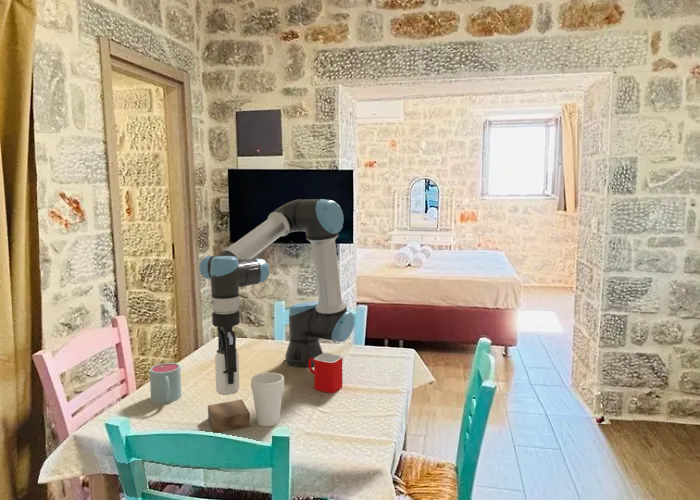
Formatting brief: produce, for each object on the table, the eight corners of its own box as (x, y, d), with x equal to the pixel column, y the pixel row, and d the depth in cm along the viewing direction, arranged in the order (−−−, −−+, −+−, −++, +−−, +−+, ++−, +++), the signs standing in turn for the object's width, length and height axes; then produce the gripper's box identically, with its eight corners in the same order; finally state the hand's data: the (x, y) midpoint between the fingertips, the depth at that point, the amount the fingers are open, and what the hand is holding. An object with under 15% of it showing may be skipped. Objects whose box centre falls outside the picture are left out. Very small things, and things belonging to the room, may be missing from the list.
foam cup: (254, 414, 148) (253, 372, 146) (285, 413, 148) (284, 371, 147) (250, 429, 138) (249, 385, 137) (283, 428, 139) (283, 384, 137)
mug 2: (344, 385, 170) (344, 355, 169) (332, 394, 162) (332, 363, 161) (315, 379, 175) (315, 350, 174) (302, 387, 168) (302, 357, 167)
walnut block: (242, 412, 149) (241, 399, 149) (249, 426, 140) (249, 412, 140) (208, 418, 145) (207, 405, 144) (214, 433, 136) (213, 419, 135)
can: (233, 396, 138) (232, 354, 136) (212, 394, 139) (210, 353, 138) (243, 387, 144) (242, 347, 143) (222, 385, 145) (221, 346, 144)
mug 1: (150, 394, 162) (149, 365, 161) (180, 390, 166) (179, 361, 165) (151, 411, 150) (150, 379, 149) (183, 406, 153) (182, 375, 152)
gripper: (206, 305, 146) (209, 379, 149) (218, 320, 128) (221, 404, 131) (232, 302, 149) (233, 376, 152) (246, 317, 132) (248, 399, 134)
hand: (227, 389), depth 141 cm, fingers closed on can, 6 cm apart
